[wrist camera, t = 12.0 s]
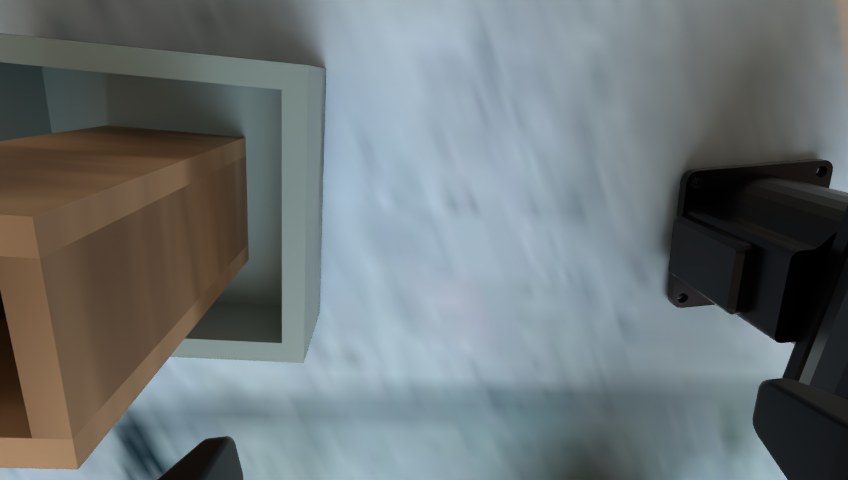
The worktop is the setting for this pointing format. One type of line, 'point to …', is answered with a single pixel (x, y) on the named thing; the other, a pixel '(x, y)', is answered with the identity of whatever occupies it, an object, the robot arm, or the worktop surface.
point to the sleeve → (105, 274)
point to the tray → (208, 114)
